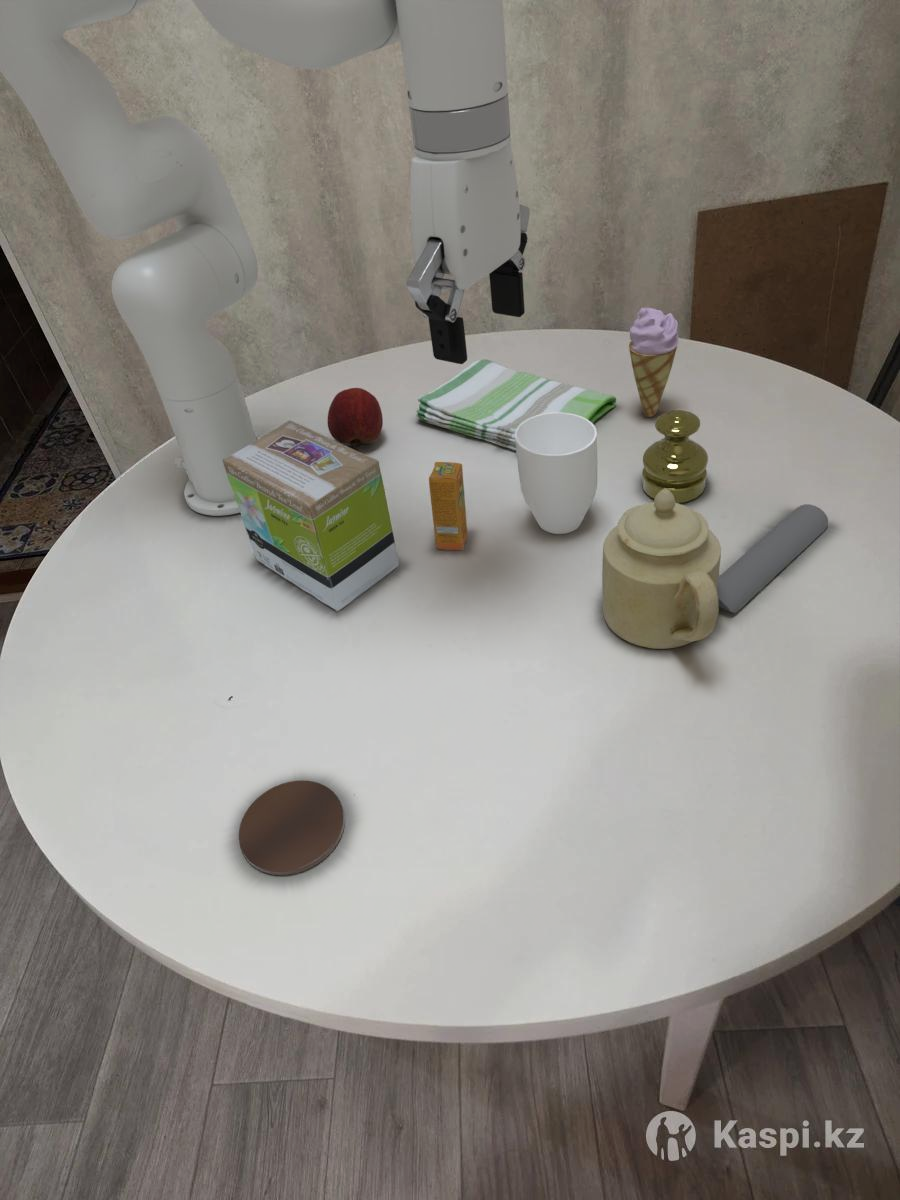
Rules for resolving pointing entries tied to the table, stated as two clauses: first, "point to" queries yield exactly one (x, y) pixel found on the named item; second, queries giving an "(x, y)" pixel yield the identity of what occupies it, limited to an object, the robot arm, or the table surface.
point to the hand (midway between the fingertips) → (480, 336)
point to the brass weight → (675, 458)
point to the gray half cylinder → (769, 556)
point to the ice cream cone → (652, 355)
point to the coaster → (291, 827)
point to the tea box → (314, 512)
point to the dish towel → (504, 402)
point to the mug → (557, 468)
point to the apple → (355, 417)
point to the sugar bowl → (661, 575)
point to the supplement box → (448, 505)
